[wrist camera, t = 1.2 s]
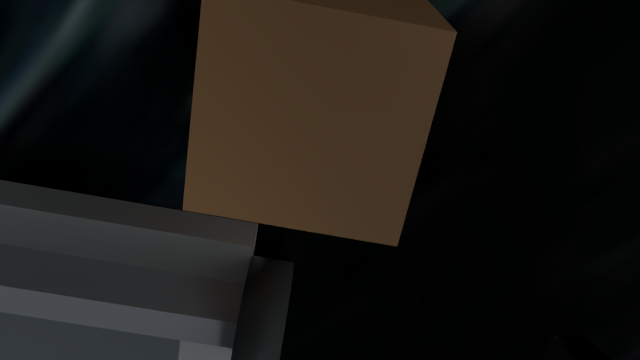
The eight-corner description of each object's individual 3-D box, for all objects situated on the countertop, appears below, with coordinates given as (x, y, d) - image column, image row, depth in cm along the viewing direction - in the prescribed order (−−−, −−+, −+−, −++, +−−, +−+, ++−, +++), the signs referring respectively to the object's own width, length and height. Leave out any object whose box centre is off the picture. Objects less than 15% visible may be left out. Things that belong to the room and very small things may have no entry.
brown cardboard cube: (418, -10, 17) (457, 32, 11) (379, 148, 19) (397, 246, 14) (246, -44, 17) (202, -17, 11) (227, 120, 19) (182, 209, 13)
